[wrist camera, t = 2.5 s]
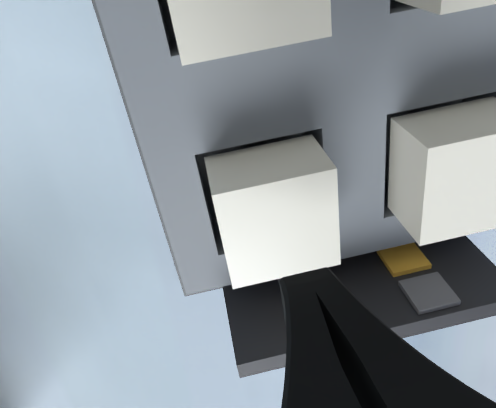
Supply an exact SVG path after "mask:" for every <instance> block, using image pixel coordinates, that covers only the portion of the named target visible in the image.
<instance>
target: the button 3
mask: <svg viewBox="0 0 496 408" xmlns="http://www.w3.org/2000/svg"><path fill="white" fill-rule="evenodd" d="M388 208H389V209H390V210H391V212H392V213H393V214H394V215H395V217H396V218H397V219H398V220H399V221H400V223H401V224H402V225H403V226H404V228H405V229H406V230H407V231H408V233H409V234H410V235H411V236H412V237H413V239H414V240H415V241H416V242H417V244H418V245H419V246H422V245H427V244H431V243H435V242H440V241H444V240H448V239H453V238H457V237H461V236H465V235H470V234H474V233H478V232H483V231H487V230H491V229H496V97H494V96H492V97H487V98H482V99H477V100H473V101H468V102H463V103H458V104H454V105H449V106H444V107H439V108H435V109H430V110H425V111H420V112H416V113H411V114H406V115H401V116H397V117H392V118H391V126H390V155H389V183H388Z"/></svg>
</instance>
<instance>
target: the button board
mask: <svg viewBox="0 0 496 408" xmlns="http://www.w3.org/2000/svg"><path fill="white" fill-rule="evenodd" d="M92 3H93V6H94V9H95V12H96V16H97V19H98V22H99V25H100V28H101V32H102V35H103V38H104V41H105V44H106V47H107V51H108V54H109V57H110V60H111V63H112V67H113V70H114V73H115V76H116V79H117V82H118V86H119V89H120V92H121V95H122V98H123V102H124V105H125V108H126V111H127V114H128V117H129V121H130V124H131V127H132V130H133V133H134V136H135V140H136V143H137V146H138V149H139V152H140V156H141V159H142V162H143V165H144V168H145V171H146V175H147V178H148V181H149V184H150V187H151V191H152V194H153V197H154V200H155V203H156V206H157V210H158V213H159V216H160V219H161V222H162V226H163V229H164V232H165V235H166V238H167V241H168V245H169V248H170V251H171V254H172V257H173V260H174V264H175V267H176V270H177V273H178V276H179V280H180V283H181V286H182V289H183V292H184V295H185V296H189V295H193V294H198V293H202V292H206V291H211V290H215V289H219V288H223V291H224V297H225V302H226V308H227V314H228V319H229V325H230V330H231V336H232V342H233V347H234V353H235V358H236V364H237V368H238V372H239V376H240V378H242V377H246V376H250V375H254V374H258V373H262V372H266V371H270V370H275V369H279V368H283V367H285V366H286V347H287V335H286V326H285V319H284V312H283V305H282V298H281V291H280V284H279V281H280V280H281V279H282V278H280V279H275V280H271V281H267V282H262V283H258V284H254V285H249V286H245V287H241V288H236V289H233V288H232V283H231V279H230V275H229V270H228V266H227V261H226V257H225V253H224V248H223V244H222V239H221V235H220V231H219V226H218V222H217V217H216V213H215V209H214V204H213V200H212V195H211V190H210V185H209V180H208V175H207V170H206V165H205V160H204V157H207V156H212V155H216V154H221V153H226V152H231V151H235V150H240V149H245V148H250V147H254V146H259V145H264V144H269V143H273V142H278V141H283V140H288V139H292V138H297V137H302V136H306V135H311V134H312V135H313V136H314V138H315V139H316V140H317V142H318V143H319V145H320V146H321V147H322V149H323V150H324V151H325V153H326V154H327V155H328V157H329V158H330V159H331V161H332V162H333V164H334V165H335V166H336V168H337V179H338V204H339V230H340V256H341V264H340V265H336V266H331V267H327V268H329V269H330V270H331V271H332V272H333V273H334V274H335V275H336V277H337V278H338V279H339V280H340V281H341V282H342V283H343V284H344V285H345V286H346V287H347V288H348V289H349V290H350V291H351V292H352V293H353V294H354V295H355V296H356V297H357V298H358V299H359V300H360V301H361V302H362V303H363V304H364V305H365V306H366V307H367V308H368V309H369V310H370V311H371V312H372V313H373V314H374V315H376V316H377V317H378V318H379V319H380V320H381V321H382V322H383V323H384V324H385V325H387V326H388V327H389V328H390V329H391V330H392V331H394V332H395V333H396V334H397V335H398V336H400V337H401V338H405V337H409V336H414V335H418V334H422V333H426V332H430V331H434V330H438V329H442V328H446V327H450V326H454V325H458V324H463V323H467V322H471V321H475V320H479V319H483V318H487V317H491V316H495V315H496V266H495V265H494V264H493V263H492V262H491V261H490V260H489V259H488V258H487V257H486V256H485V255H484V254H483V253H482V252H481V251H480V250H479V249H478V248H477V247H476V246H475V245H474V244H473V243H472V242H471V241H470V240H469V239H468V238H467V237H466V236H461V237H457V238H453V239H448V240H444V241H440V242H435V243H431V244H427V245H422V246H419V245H418V244H417V242H416V241H415V240H414V239H413V237H412V236H411V235H410V234H409V233H408V231H407V230H406V229H405V228H404V226H403V225H402V224H401V223H400V221H399V220H398V219H397V218H396V217H395V215H394V214H393V213H392V212H391V210H390V209H389V208H388V183H389V155H390V126H391V118H392V117H397V116H401V115H406V114H411V113H416V112H420V111H425V110H430V109H435V108H439V107H444V106H449V105H454V104H458V103H463V102H468V101H473V100H477V99H482V98H487V97H492V96H494V97H496V4H494V5H489V6H484V7H479V8H473V9H468V10H463V11H458V12H453V13H448V14H443V15H438V14H435V13H432V12H429V11H426V10H423V9H420V8H416V7H413V6H410V5H407V4H404V3H401V2H398V1H395V0H331V24H332V36H331V37H326V38H321V39H316V40H311V41H306V42H301V43H296V44H290V45H285V46H280V47H275V48H270V49H265V50H260V51H255V52H250V53H245V54H240V55H235V56H229V57H224V58H219V59H214V60H209V61H204V62H199V63H194V64H189V65H184V66H182V64H181V59H180V55H179V50H178V46H177V42H176V37H175V33H174V28H173V24H172V20H171V15H170V11H169V6H168V2H167V0H92Z"/></svg>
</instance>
